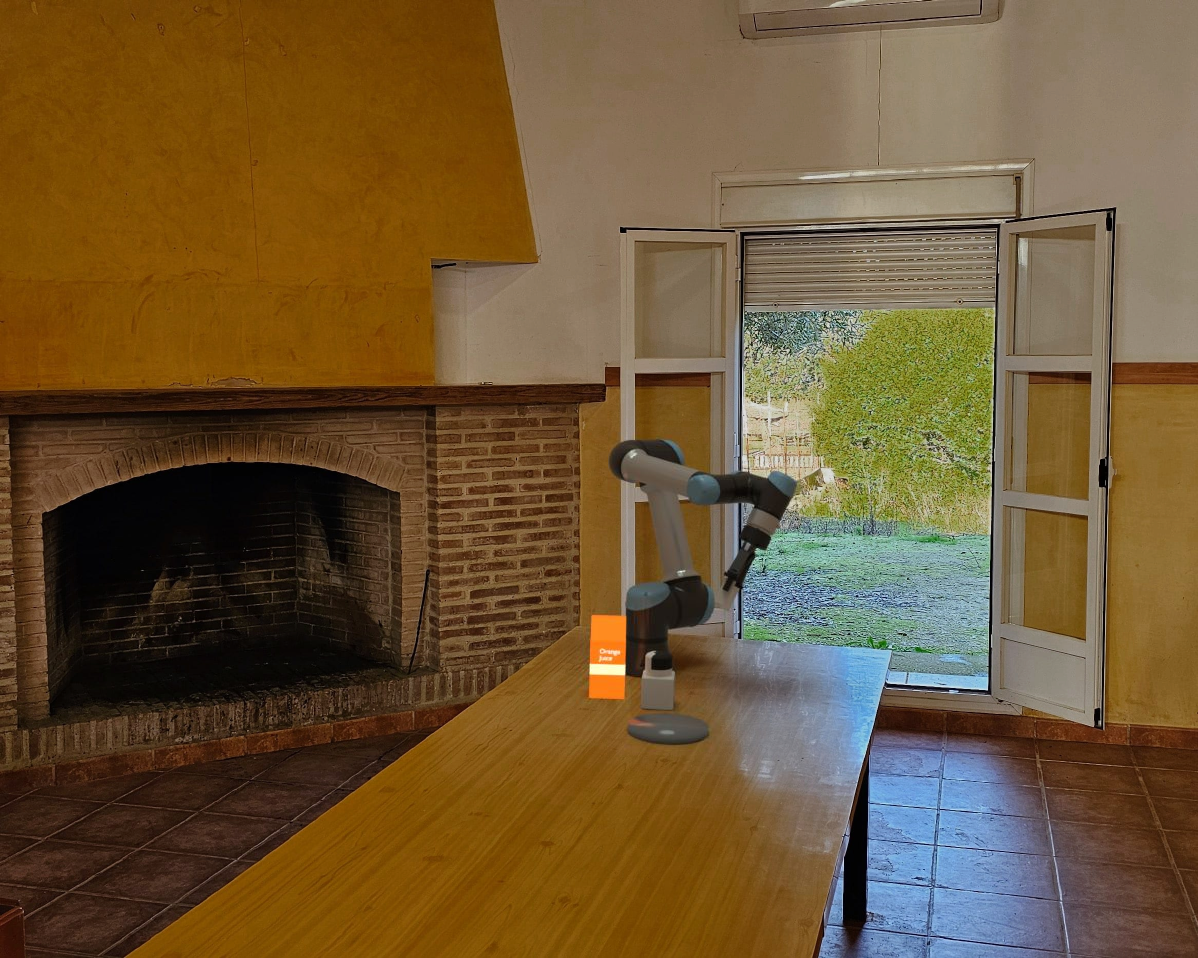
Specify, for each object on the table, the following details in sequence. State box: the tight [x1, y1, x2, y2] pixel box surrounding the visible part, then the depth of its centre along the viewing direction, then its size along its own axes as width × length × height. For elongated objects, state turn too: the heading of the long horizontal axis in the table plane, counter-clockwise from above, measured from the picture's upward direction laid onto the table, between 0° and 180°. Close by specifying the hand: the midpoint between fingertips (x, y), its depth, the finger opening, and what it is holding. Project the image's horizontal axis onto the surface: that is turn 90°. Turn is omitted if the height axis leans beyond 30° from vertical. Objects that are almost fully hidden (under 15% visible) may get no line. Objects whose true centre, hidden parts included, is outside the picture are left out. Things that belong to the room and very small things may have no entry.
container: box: [640, 651, 676, 711], centre depth 270 cm, size 8×8×13 cm
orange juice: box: [588, 614, 626, 700], centre depth 279 cm, size 8×9×20 cm
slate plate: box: [627, 712, 709, 745], centre depth 250 cm, size 18×18×2 cm
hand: (721, 606), depth 277 cm, fingers open, 13 cm apart
